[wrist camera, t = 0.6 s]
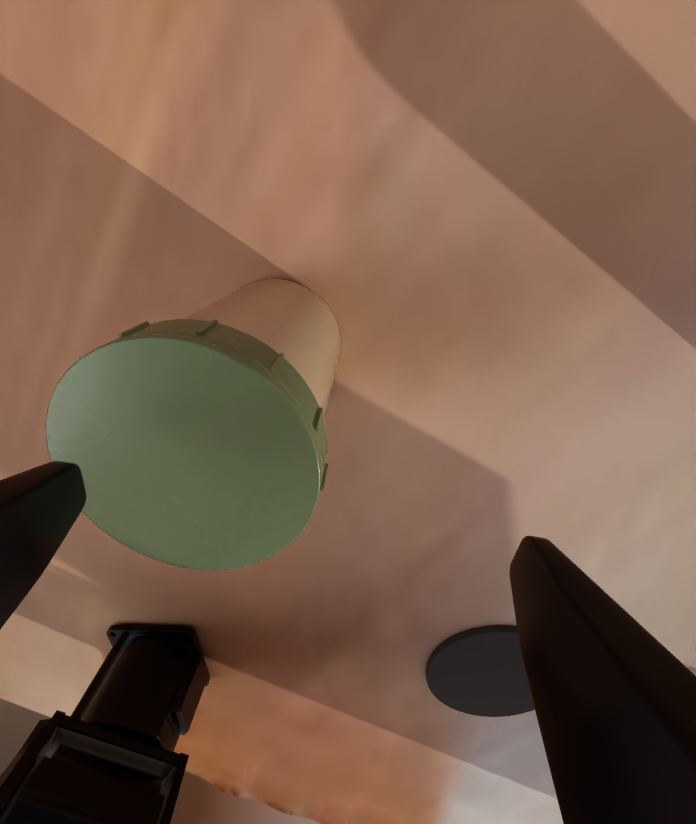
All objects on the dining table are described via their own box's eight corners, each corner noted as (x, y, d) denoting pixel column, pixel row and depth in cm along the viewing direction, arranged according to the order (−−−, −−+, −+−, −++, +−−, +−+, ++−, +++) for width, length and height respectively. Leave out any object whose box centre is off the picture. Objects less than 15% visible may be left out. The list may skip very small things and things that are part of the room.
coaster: (423, 707, 32) (424, 714, 32) (428, 623, 28) (429, 630, 27) (553, 712, 31) (555, 719, 31) (580, 627, 27) (583, 633, 26)
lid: (128, 528, 13) (96, 568, 11) (53, 322, 10) (-4, 340, 9) (334, 530, 12) (328, 572, 11) (317, 314, 10) (307, 332, 8)
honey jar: (229, 400, 21) (113, 548, 12) (206, 281, 18) (33, 348, 9) (344, 398, 21) (318, 551, 11) (337, 276, 18) (296, 341, 9)
